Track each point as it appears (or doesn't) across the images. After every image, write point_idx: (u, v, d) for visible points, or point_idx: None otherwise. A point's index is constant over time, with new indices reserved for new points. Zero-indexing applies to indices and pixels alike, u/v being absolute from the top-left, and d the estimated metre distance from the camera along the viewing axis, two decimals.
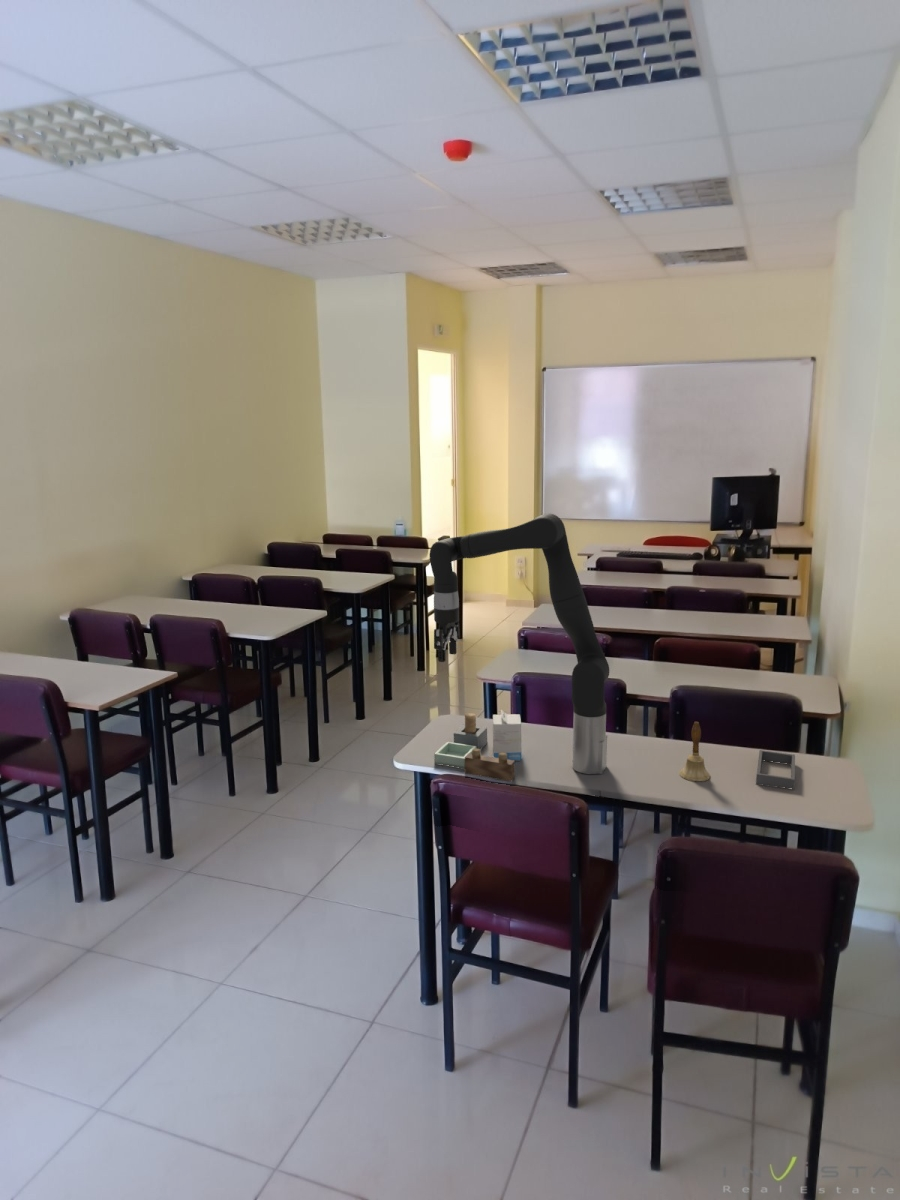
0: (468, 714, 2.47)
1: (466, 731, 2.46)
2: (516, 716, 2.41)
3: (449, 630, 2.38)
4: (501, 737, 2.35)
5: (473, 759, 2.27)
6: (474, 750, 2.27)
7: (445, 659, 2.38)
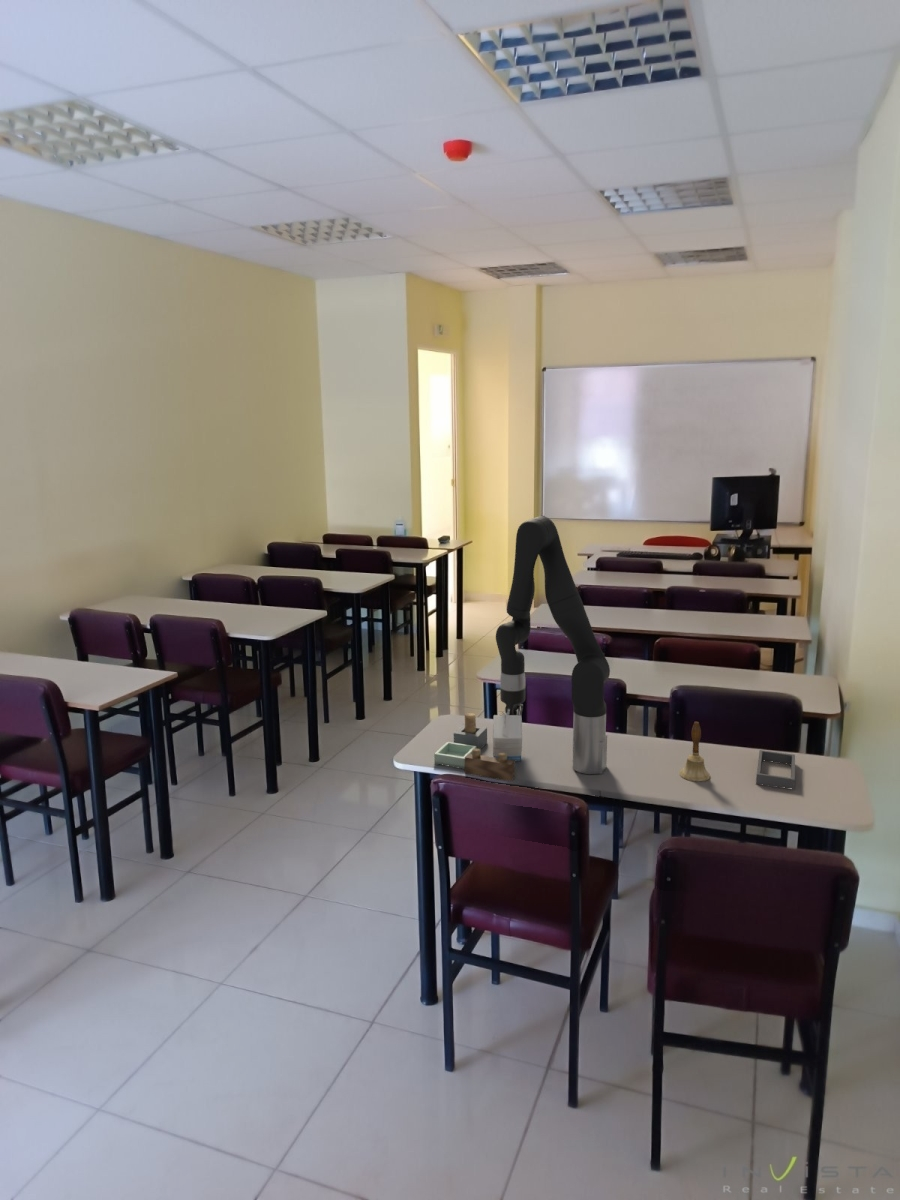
0: (468, 714, 2.47)
1: (466, 731, 2.46)
2: (517, 719, 2.33)
3: (516, 712, 2.39)
4: (502, 746, 2.31)
5: (473, 759, 2.27)
6: (474, 750, 2.27)
7: None
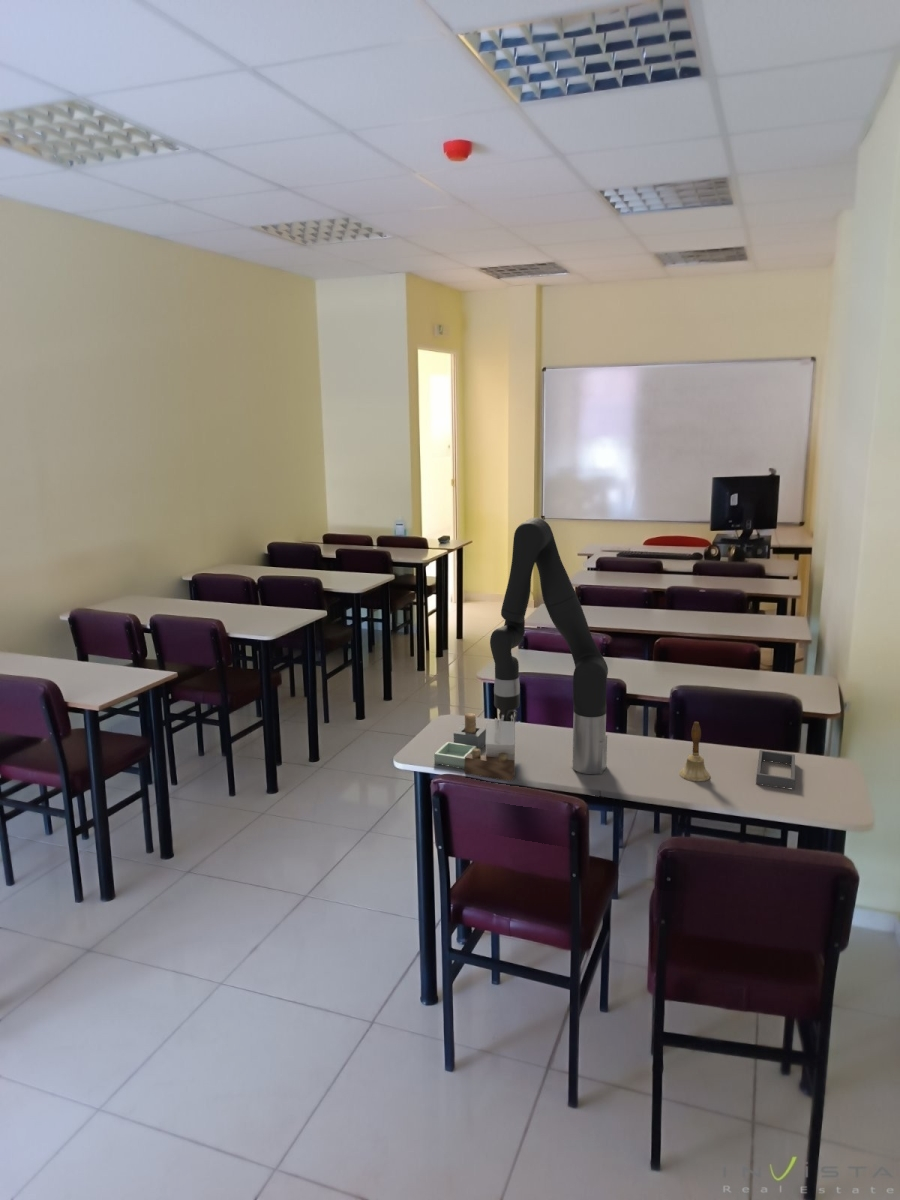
0: (468, 714, 2.47)
1: (466, 731, 2.46)
2: (510, 726, 2.28)
3: (510, 718, 2.35)
4: (494, 753, 2.27)
5: (473, 759, 2.27)
6: (474, 750, 2.27)
7: None
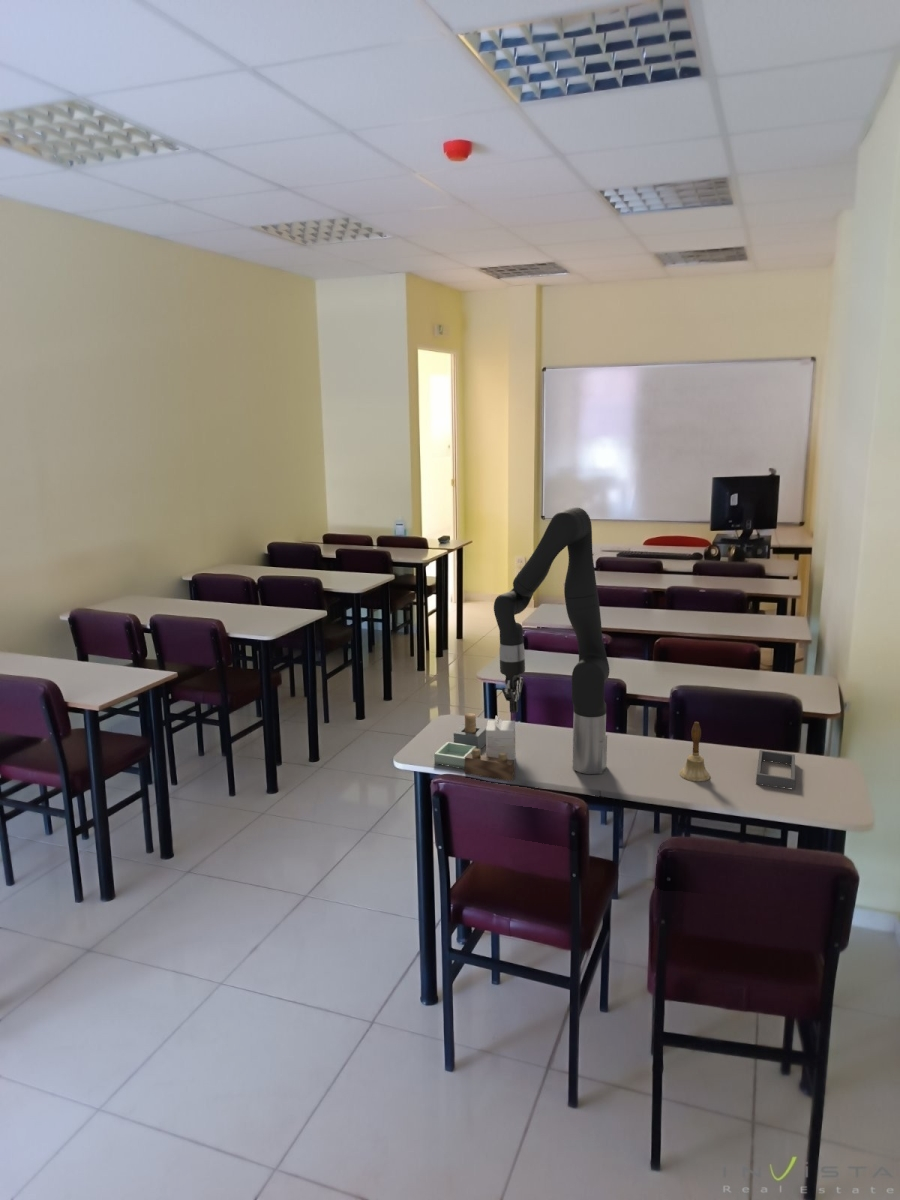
0: (468, 714, 2.47)
1: (466, 731, 2.46)
2: (510, 722, 2.36)
3: (516, 683, 2.38)
4: (494, 743, 2.30)
5: (473, 759, 2.27)
6: (474, 750, 2.27)
7: (517, 710, 2.42)
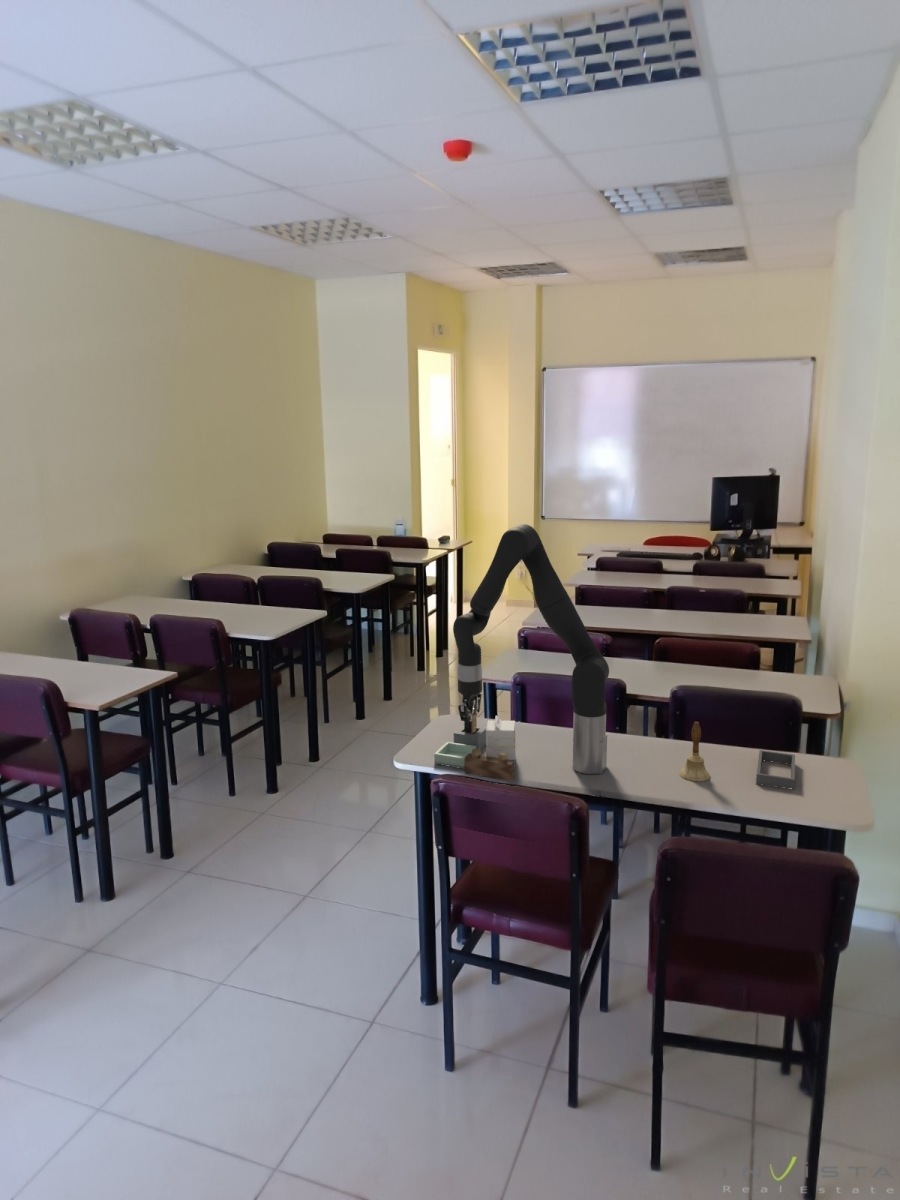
0: None
1: None
2: (510, 722, 2.36)
3: (472, 702, 2.43)
4: (494, 743, 2.30)
5: (473, 759, 2.27)
6: (474, 750, 2.27)
7: (471, 730, 2.45)
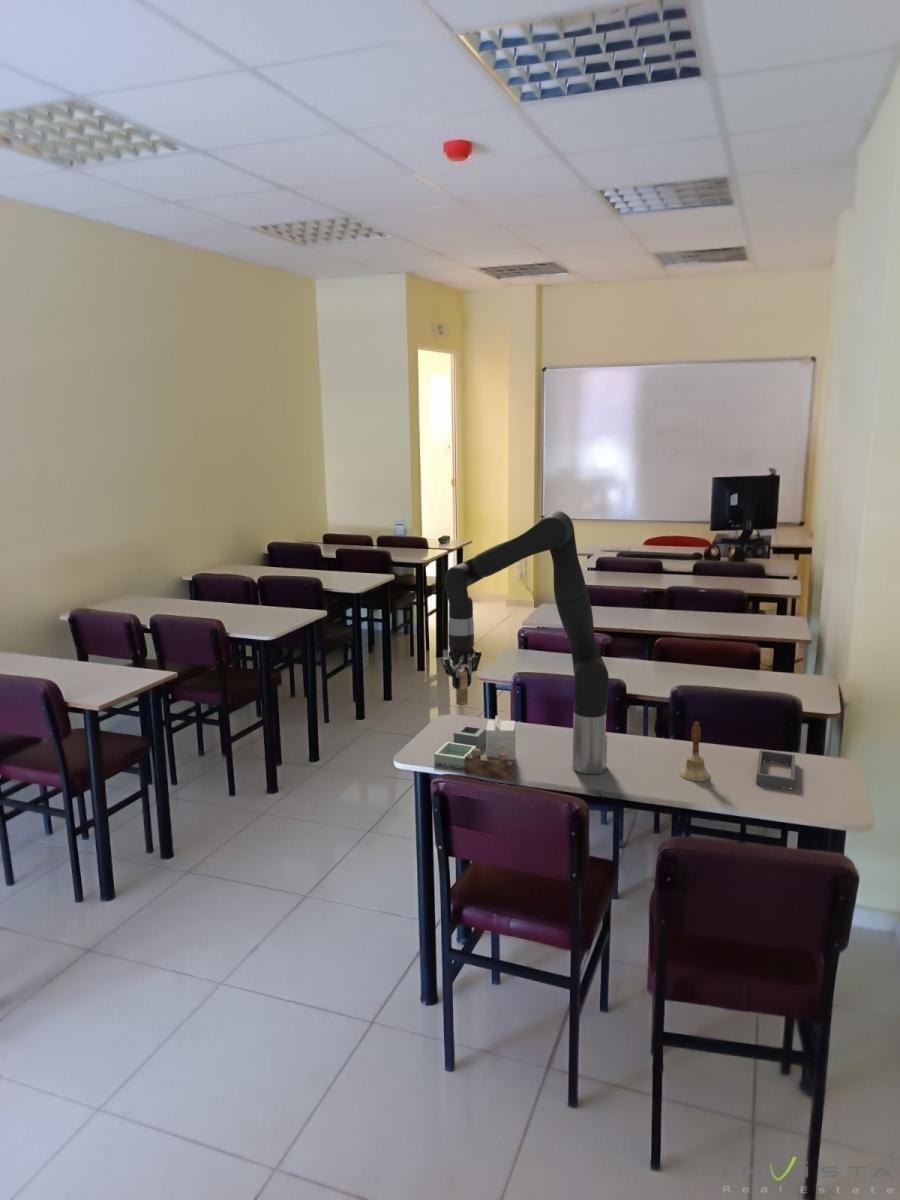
0: (460, 670, 2.38)
1: None
2: (510, 722, 2.36)
3: (459, 657, 2.34)
4: (494, 743, 2.30)
5: (473, 759, 2.27)
6: (474, 750, 2.27)
7: (459, 687, 2.36)
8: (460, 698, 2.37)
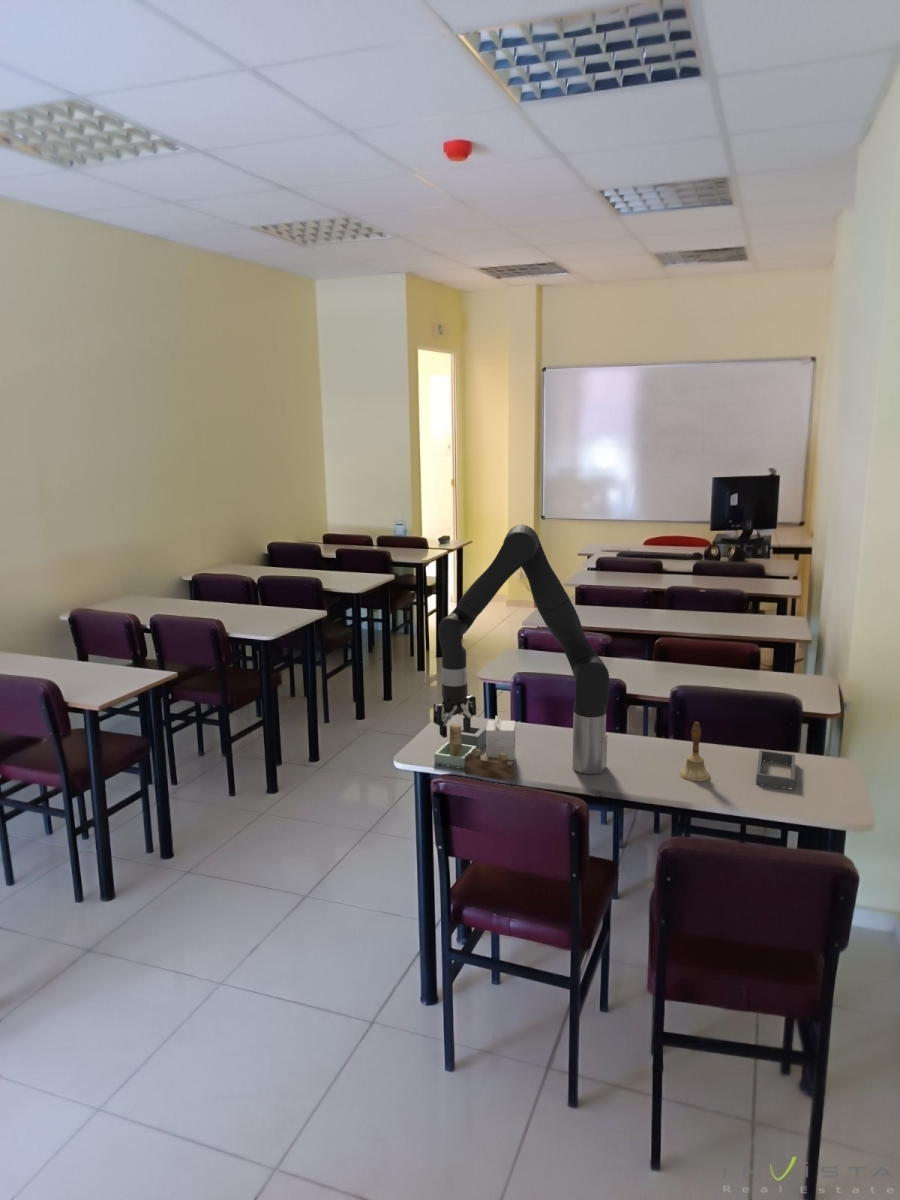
0: (454, 725, 2.36)
1: (450, 742, 2.36)
2: (510, 722, 2.36)
3: (453, 706, 2.31)
4: (494, 743, 2.30)
5: (473, 759, 2.27)
6: (474, 750, 2.27)
7: (446, 735, 2.33)
8: (454, 753, 2.36)
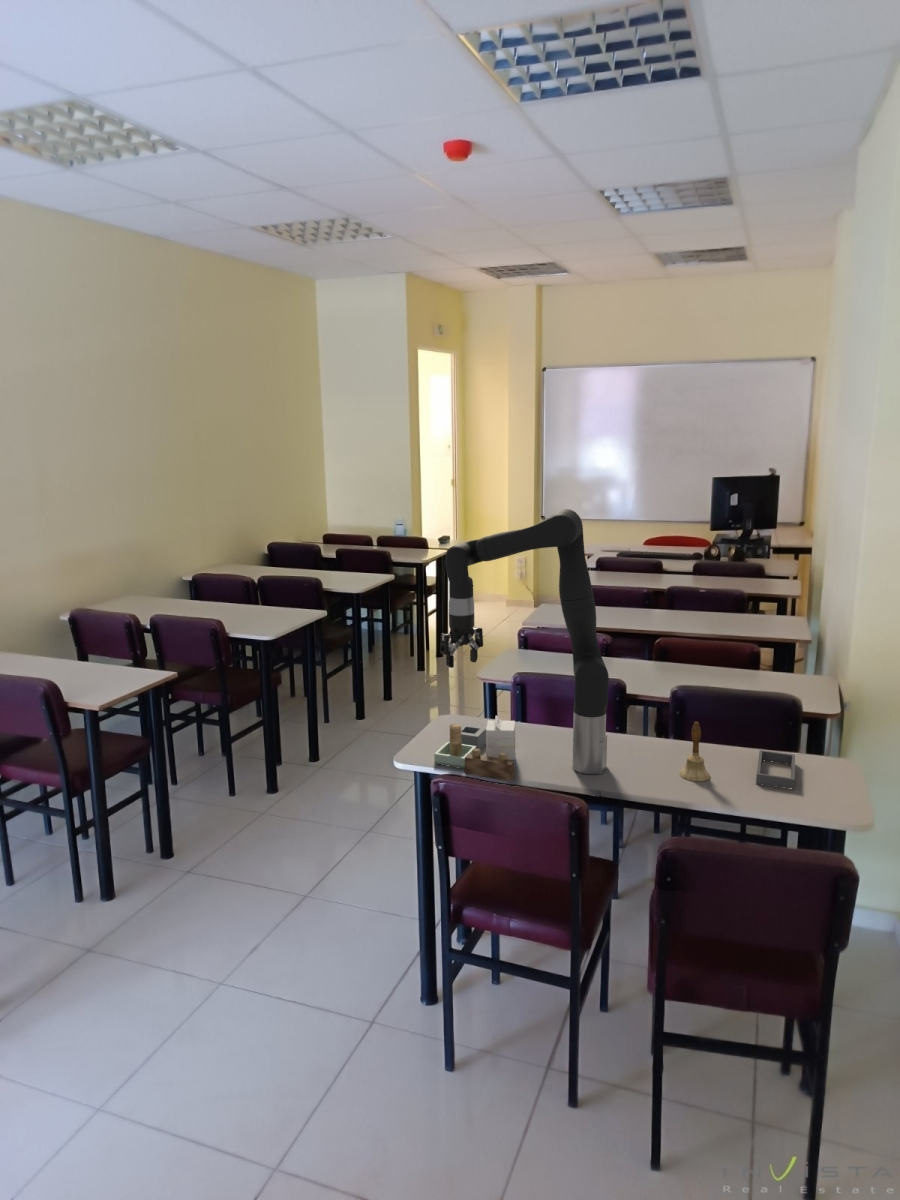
0: (454, 725, 2.36)
1: (450, 742, 2.36)
2: (510, 722, 2.36)
3: (460, 636, 2.33)
4: (494, 743, 2.30)
5: (473, 759, 2.27)
6: (474, 750, 2.27)
7: (453, 665, 2.34)
8: (454, 752, 2.36)
